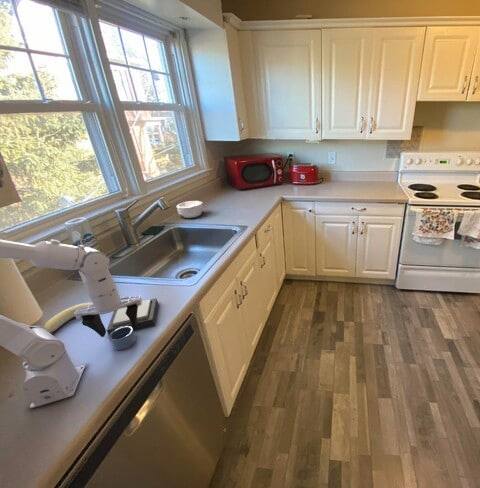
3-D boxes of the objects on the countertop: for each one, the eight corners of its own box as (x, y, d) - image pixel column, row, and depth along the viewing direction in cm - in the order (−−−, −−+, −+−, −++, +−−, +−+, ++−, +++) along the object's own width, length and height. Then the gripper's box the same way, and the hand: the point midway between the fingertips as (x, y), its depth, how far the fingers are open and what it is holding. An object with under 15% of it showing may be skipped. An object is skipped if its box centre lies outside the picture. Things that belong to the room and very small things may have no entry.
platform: (148, 318, 87) (146, 315, 87) (113, 327, 84) (112, 323, 83) (151, 302, 95) (150, 299, 94) (120, 309, 91) (118, 306, 91)
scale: (154, 325, 87) (152, 319, 86) (109, 337, 83) (106, 330, 82) (158, 303, 97) (156, 297, 96) (117, 312, 93) (115, 306, 92)
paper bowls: (180, 213, 183) (178, 201, 179) (205, 210, 187) (203, 199, 183) (177, 221, 170) (174, 208, 166) (204, 218, 174) (201, 206, 170)
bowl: (135, 347, 79) (130, 336, 78) (111, 353, 77) (106, 342, 76) (138, 334, 84) (134, 323, 82) (116, 339, 82) (111, 329, 80)
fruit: (40, 328, 87) (35, 320, 85) (97, 303, 98) (93, 295, 96) (47, 338, 83) (42, 329, 81) (105, 310, 94) (102, 302, 93)
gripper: (137, 276, 79) (151, 314, 84) (73, 289, 73) (93, 328, 79) (132, 290, 73) (148, 330, 79) (63, 304, 68) (85, 346, 74)
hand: (120, 330), depth 79 cm, fingers open, 7 cm apart
